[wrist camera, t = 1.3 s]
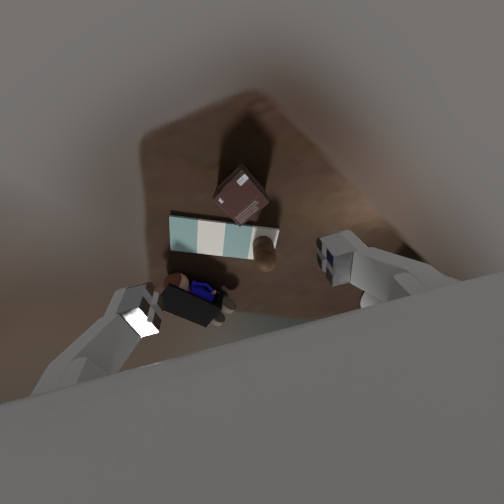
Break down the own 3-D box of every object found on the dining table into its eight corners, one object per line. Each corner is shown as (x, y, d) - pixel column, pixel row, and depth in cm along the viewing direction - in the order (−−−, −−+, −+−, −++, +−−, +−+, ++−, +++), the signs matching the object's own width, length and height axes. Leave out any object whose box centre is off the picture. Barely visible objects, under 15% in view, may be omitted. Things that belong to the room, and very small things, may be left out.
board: (278, 228, 42) (279, 230, 41) (271, 259, 45) (271, 261, 44) (170, 214, 39) (169, 216, 39) (171, 248, 43) (170, 250, 42)
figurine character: (236, 288, 51) (174, 261, 44) (239, 314, 44) (167, 287, 38) (221, 306, 53) (160, 283, 47) (221, 333, 47) (151, 310, 41)
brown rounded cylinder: (275, 237, 42) (281, 258, 35) (270, 254, 44) (275, 278, 37) (254, 234, 41) (256, 255, 35) (251, 252, 43) (252, 275, 37)
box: (239, 211, 40) (239, 228, 33) (216, 186, 37) (210, 199, 31) (265, 189, 38) (270, 202, 32) (242, 161, 35) (242, 169, 29)
